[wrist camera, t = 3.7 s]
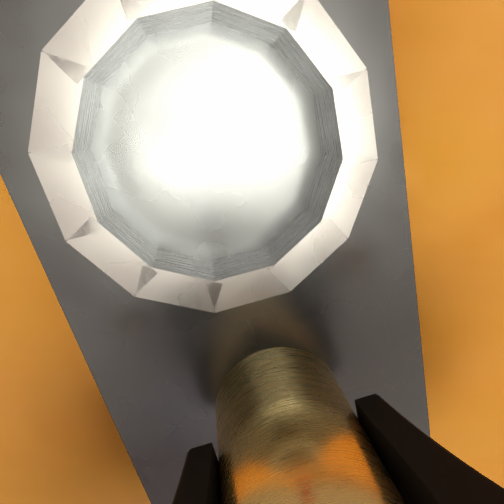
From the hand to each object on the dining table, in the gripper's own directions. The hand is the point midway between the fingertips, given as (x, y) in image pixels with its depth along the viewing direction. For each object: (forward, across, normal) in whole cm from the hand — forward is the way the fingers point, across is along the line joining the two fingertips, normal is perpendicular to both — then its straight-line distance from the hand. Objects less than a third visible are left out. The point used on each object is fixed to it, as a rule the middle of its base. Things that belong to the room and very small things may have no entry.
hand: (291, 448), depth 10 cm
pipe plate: (+3, 0, -5) cm, 6 cm away
